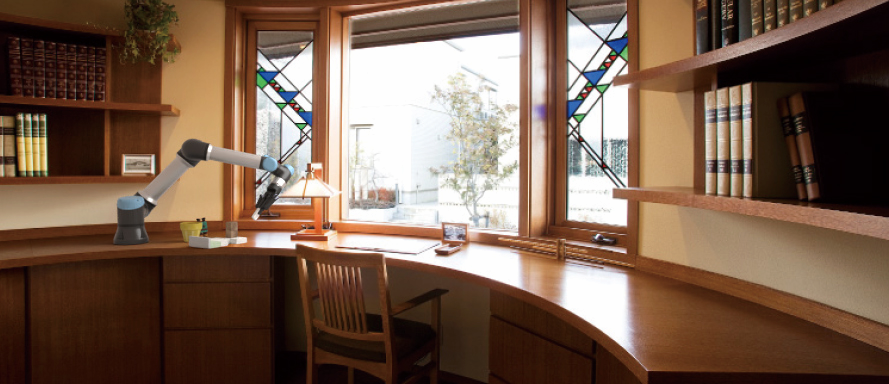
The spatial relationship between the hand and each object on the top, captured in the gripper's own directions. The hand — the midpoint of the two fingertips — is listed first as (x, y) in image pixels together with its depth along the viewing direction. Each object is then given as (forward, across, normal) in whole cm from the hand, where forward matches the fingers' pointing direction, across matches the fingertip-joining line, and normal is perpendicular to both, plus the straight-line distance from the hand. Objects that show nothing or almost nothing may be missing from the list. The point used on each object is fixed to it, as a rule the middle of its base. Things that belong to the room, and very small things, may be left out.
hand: (253, 218), depth 271 cm
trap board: (+23, +1, +7) cm, 24 cm away
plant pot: (+23, +22, +7) cm, 33 cm away
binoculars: (+13, +35, -3) cm, 37 cm away
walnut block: (+16, +1, +4) cm, 16 cm away
